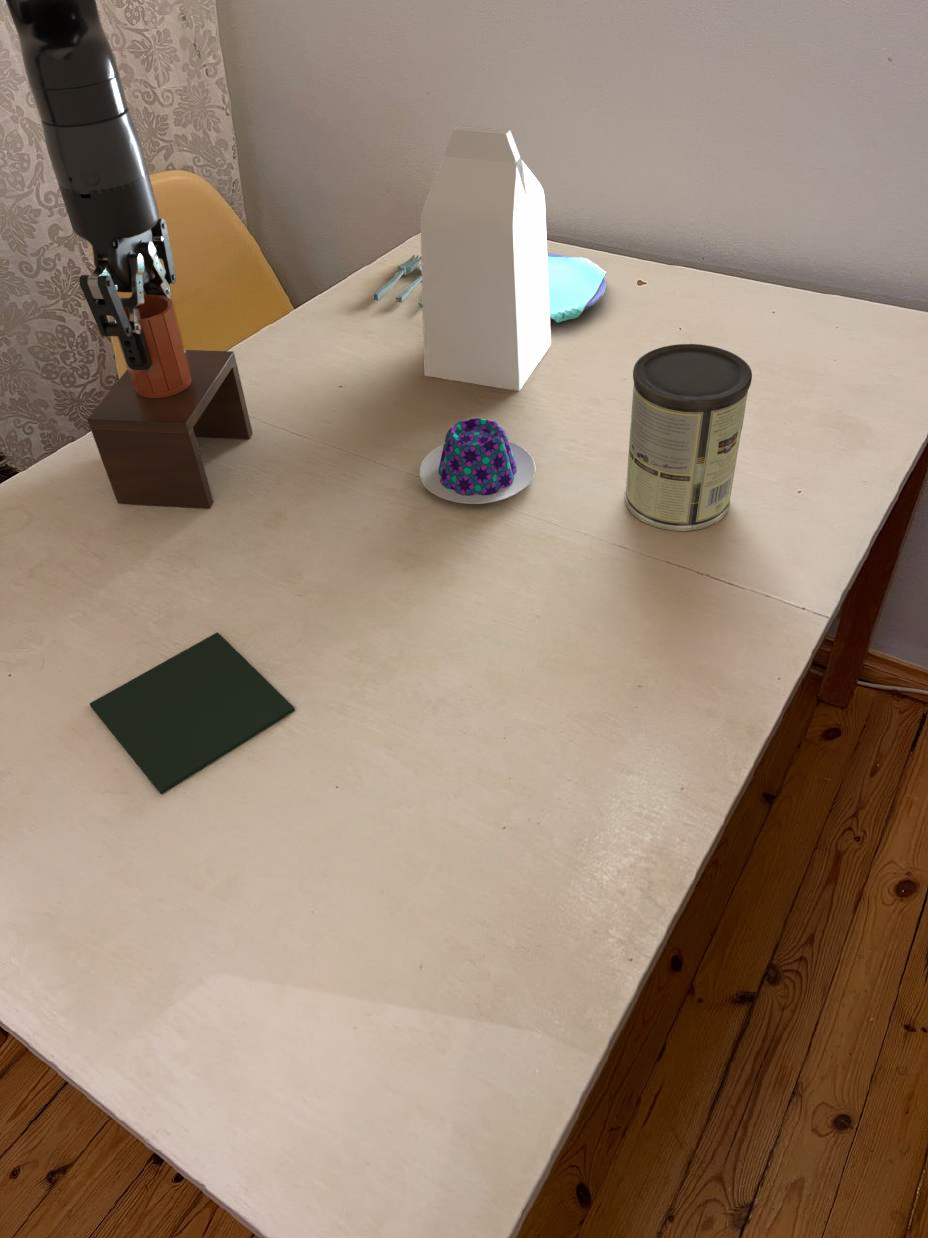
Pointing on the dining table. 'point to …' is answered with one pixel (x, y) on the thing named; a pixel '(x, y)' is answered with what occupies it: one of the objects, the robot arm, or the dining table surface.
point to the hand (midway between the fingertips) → (154, 350)
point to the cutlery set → (567, 278)
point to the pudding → (477, 464)
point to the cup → (161, 351)
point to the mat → (190, 711)
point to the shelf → (169, 433)
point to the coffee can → (685, 435)
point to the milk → (484, 264)
